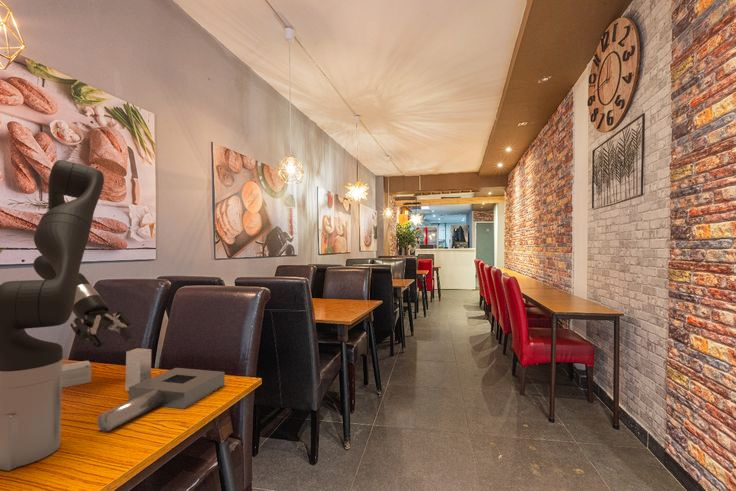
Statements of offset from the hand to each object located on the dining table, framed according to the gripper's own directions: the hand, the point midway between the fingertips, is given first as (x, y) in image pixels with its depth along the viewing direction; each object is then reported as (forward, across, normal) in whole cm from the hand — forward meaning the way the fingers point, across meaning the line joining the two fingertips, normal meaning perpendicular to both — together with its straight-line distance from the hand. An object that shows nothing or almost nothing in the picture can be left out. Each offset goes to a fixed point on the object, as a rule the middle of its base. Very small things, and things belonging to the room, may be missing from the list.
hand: (115, 343), depth 99 cm
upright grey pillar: (+15, 0, +3) cm, 15 cm away
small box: (-2, 0, +20) cm, 21 cm away
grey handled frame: (+25, -7, -7) cm, 26 cm away
